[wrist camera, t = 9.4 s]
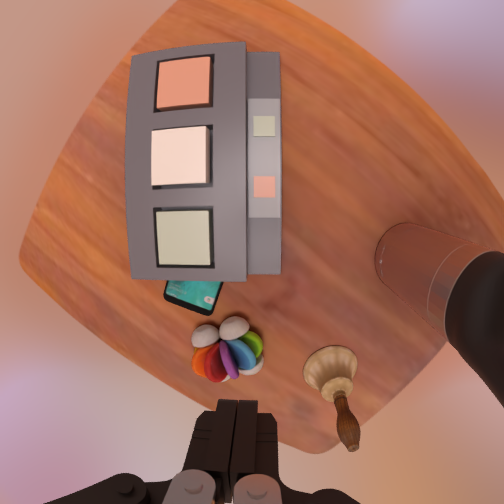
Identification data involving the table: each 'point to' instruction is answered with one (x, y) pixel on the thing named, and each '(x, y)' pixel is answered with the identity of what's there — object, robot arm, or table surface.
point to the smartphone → (193, 294)
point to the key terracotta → (185, 84)
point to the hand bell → (336, 387)
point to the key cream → (180, 156)
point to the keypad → (211, 164)
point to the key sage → (185, 236)
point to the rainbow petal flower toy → (226, 350)
